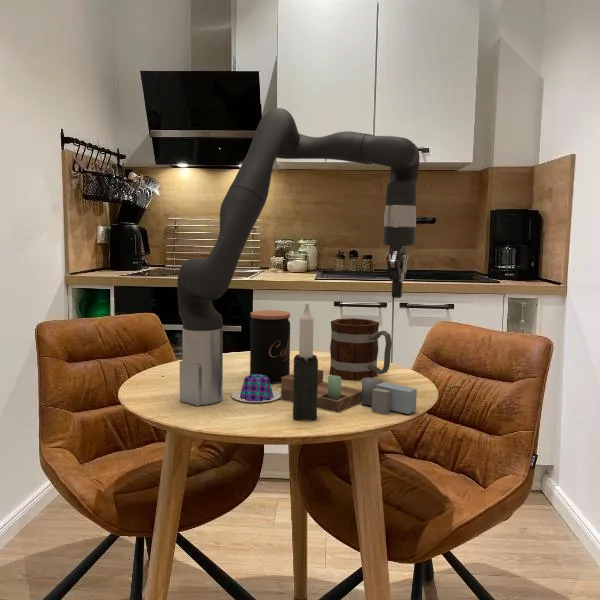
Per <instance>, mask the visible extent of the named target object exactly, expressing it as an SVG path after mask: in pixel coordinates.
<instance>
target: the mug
mask: <svg viewBox="0 0 600 600" xmlns="http://www.w3.org/2000/svg"><path fill="white" fill-rule="evenodd" d="M330 328H331V330H330V331H331V335H330V347H329V352H330V353H329V354H330V355H329V356H330V364H329V365H330V367H329V376H331V375H335V376H340V377H341V380H344V381H351V382H359V381H360V380H362V379H363V378H374V377H375V378H376V377H378V376H377V375H383V374H386V373H388V371H389V369H390V364H391V351H392V345H393V341H392V337H391V334H390V333H389V332H387V330H380V331H379V328H380V322H379V321H375V320H374V319H367V318H355V317H354V318H353V317H351V318H336V319H333V320H330ZM382 336H384V339H385V348H384V353H383V354H384V357H383V358H384V359H383V367H382V369H381V368H380V367H378V356H379V338H380V337H382Z"/></svg>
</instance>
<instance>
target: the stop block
mask: <svg viewBox="0 0 600 600" xmlns="http://www.w3.org/2000/svg"><path fill="white" fill-rule="evenodd" d="M372 411H373V413H376V412H378V413H377V414H381V413H382V415H388V414H389V413H390V411H391V410H390V390H385V389H379V388H375V389H373V390H372V405H371V412H372Z"/></svg>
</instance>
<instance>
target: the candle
mask: <svg viewBox="0 0 600 600" xmlns="http://www.w3.org/2000/svg"><path fill="white" fill-rule="evenodd" d="M309 305H310V303H309V302H305V303H304V309H303V312H302V314H301V316H300V318H299V337H298V338H299V342H298V343H299V347H298V351H299V352H298V354H296V355H295V356H294V357H293V375H294V378H293V402H292V418H293V420H294V421H316V420H318V408H317V389H318V370H319V360H318V357H317V355H316V354H314V317H313V316H312V313H311V310H310V307H309Z"/></svg>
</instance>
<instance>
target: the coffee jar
mask: <svg viewBox="0 0 600 600" xmlns="http://www.w3.org/2000/svg"><path fill="white" fill-rule="evenodd" d="M250 317H251V320H250V326H249V327H250V329H249V330H250V331H249V332H250V333H249V334H250V336H249V337H250V339H249V341H250V342H249V344H250V347H249V348H250V349H249V375H253V374H254V375H256V374H260V375H265V376H267V377H268V378H269V380H270V384H279V383H280V384H281V377H283V376H287V375H290V374H291V373H290V369H291V367H290V366H291V365H290V363H291V362H290V360H291V359H290V358H291V322H290V320H289V318H290V317H291V313H290V312H288V311H285V310H273V309H271V310H270V309H269V310H268V309H265V310H263V309H262V310H255V311H251V312H250Z"/></svg>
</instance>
